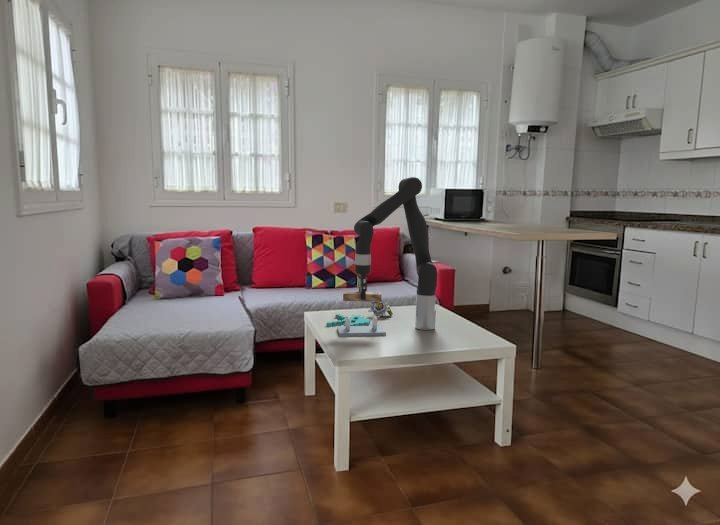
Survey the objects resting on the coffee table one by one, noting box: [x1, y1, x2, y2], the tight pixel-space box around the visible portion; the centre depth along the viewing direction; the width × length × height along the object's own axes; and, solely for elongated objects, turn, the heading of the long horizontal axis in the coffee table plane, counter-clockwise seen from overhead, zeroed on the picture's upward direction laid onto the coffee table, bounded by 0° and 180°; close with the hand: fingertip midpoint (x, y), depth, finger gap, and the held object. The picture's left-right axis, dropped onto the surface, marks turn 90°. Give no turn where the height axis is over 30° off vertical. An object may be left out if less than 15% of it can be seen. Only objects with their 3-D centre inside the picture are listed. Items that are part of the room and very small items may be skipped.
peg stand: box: [336, 315, 387, 337], centre depth 233 cm, size 22×12×8 cm, turn 98°
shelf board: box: [342, 290, 383, 303], centre depth 231 cm, size 18×6×4 cm, turn 90°
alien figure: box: [326, 313, 372, 328], centre depth 250 cm, size 20×2×20 cm
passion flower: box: [368, 299, 394, 319], centre depth 265 cm, size 11×11×12 cm
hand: (361, 298), depth 231 cm, fingers closed on shelf board, 6 cm apart
